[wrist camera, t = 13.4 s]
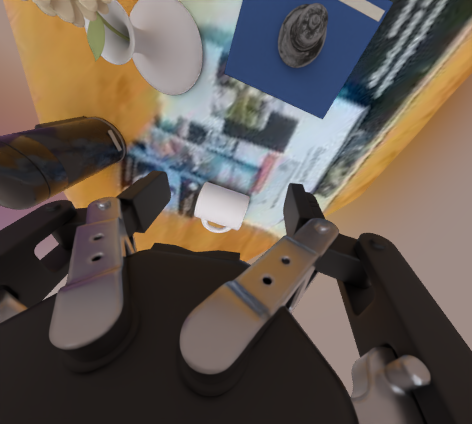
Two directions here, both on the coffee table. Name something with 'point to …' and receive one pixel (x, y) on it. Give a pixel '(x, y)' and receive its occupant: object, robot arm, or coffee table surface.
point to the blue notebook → (321, 68)
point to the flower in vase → (139, 37)
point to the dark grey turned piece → (303, 34)
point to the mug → (221, 207)
